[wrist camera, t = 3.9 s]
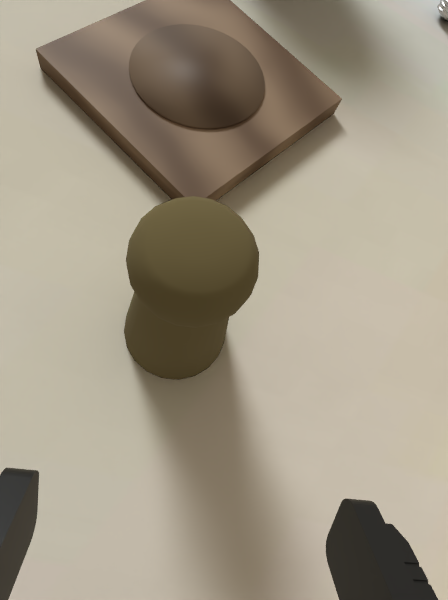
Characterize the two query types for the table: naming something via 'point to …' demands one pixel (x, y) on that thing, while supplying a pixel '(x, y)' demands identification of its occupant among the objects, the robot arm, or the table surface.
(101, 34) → the walnut board
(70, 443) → the table surface
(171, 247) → the cork
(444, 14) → the light bulb
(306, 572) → the table surface
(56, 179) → the table surface
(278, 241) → the table surface
